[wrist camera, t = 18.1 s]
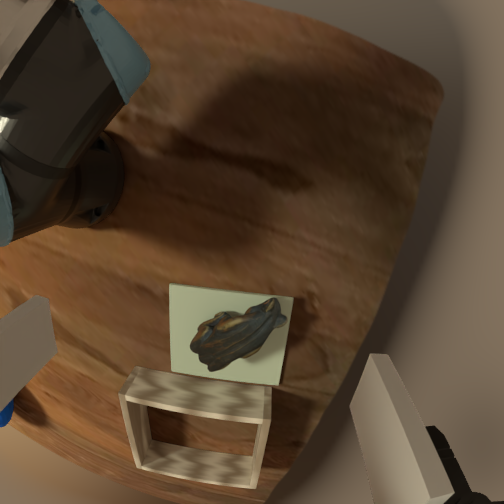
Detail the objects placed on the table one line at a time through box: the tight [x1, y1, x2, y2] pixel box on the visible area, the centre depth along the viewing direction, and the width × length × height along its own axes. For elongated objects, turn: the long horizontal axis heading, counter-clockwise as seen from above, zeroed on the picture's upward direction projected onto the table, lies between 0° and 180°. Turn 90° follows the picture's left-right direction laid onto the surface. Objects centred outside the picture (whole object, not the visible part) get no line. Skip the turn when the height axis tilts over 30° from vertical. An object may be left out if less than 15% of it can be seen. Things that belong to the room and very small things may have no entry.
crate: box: [118, 366, 272, 489], centre depth 49 cm, size 24×22×8 cm
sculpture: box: [190, 297, 288, 372], centre depth 42 cm, size 13×6×7 cm, turn 125°
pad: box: [169, 283, 293, 385], centre depth 47 cm, size 18×16×1 cm
